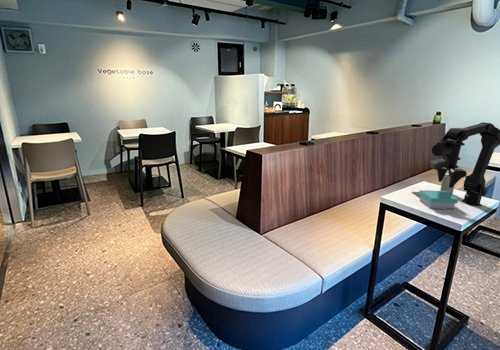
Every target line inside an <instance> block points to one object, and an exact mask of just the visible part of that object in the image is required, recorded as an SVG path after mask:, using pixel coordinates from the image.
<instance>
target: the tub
mask: <svg viewBox="0 0 500 350" xmlns="http://www.w3.org/2000/svg"><path fill="white" fill-rule="evenodd" d="M419 202H420V203H422V204H423V205H424V206H425V207H427V208H428V209H431V210H432V209H435V210H436V209H437V210H454V209H455V204H456V203H440V202H430V201H428V200H427V199H425V198H424V197H423V196H421V197H420V198H419Z"/></svg>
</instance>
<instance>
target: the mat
mask: <svg viewBox="0 0 500 350" xmlns="http://www.w3.org/2000/svg"><path fill="white" fill-rule="evenodd" d="M419 192H420V191H411V193H412V194H413V195H415V196H416V197H417V198H419V199H420V197H421V195H420V194H419Z"/></svg>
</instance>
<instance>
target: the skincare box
mask: <svg viewBox="0 0 500 350" xmlns="http://www.w3.org/2000/svg"><path fill="white" fill-rule="evenodd" d="M448 175H449V173H448V172H446V174H445V176H444V178H443V180H442V181H441V185H440V189H439V191H451V192H452V195H453V193H454V190H455V185H456V184H455V185H454V186H453V187H452V188H449V182H450V177H449V176H448ZM453 196H454V195H453Z"/></svg>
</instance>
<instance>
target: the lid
mask: <svg viewBox="0 0 500 350" xmlns="http://www.w3.org/2000/svg"><path fill="white" fill-rule="evenodd" d="M418 192H419V194H420V195H421V196H423V197H424V198H425V199H427V200H428V201H430V202H440V203H455V204H458V203H459V198H457V197H455V196H454V195H452V192H451V191H440V190H427V189H426V190H423V189H422V190H421V189H420V190H419V191H418Z"/></svg>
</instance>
